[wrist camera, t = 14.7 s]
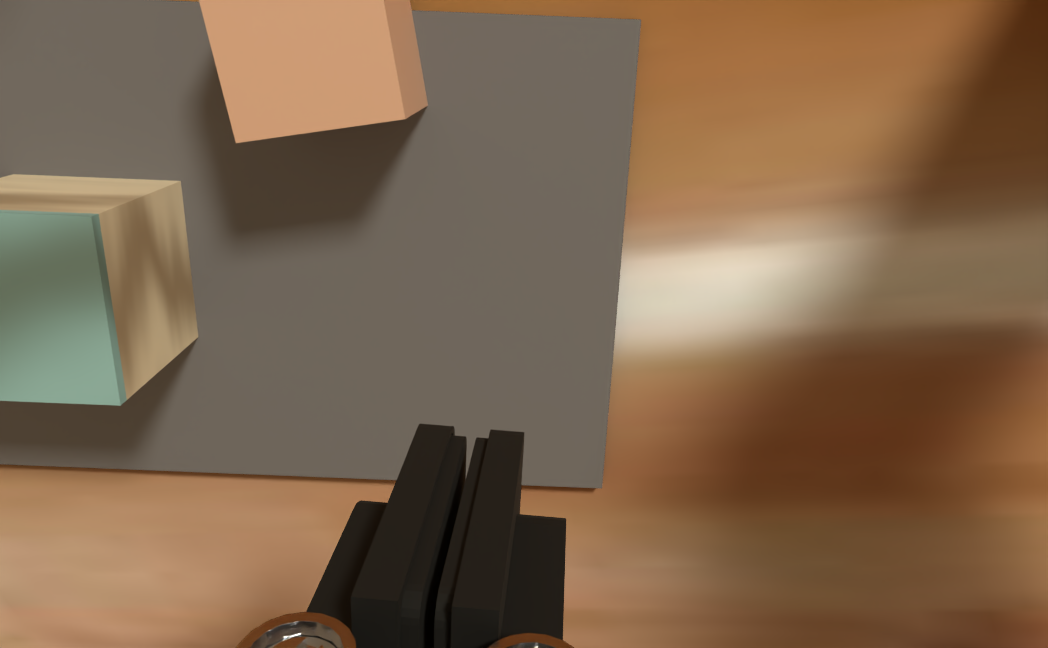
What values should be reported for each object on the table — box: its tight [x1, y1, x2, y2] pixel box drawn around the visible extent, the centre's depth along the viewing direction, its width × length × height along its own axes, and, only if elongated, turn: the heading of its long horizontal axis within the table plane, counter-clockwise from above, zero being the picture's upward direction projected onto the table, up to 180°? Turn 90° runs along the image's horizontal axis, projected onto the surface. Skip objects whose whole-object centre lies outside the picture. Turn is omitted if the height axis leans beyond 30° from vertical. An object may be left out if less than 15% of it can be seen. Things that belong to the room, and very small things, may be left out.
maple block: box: [0, 174, 198, 406], centre depth 26 cm, size 6×6×6 cm
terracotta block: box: [199, 0, 428, 143], centre depth 24 cm, size 5×5×5 cm
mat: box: [0, 0, 641, 488], centre depth 29 cm, size 18×28×1 cm, turn 88°
